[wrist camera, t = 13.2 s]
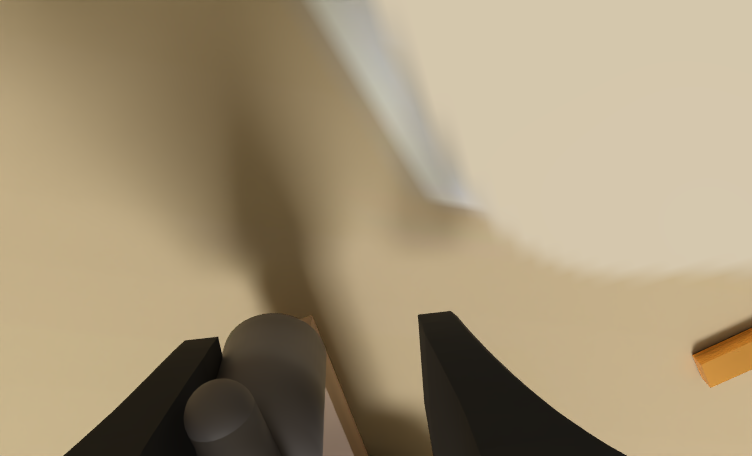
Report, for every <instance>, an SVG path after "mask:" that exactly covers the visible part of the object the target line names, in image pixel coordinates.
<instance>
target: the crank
mask: <svg viewBox="0 0 752 456" xmlns="http://www.w3.org/2000/svg"><path fill="white" fill-rule="evenodd" d="M222 357H223V358H222V361H221V365H220V368H219V372H218V375H217V378H216V379H215V380H211V381H208V382H206V383H204V384H203V385H201V386H200V387H198V388H197V389H196V390H195V391H194V392H193V394H192V395H191V397H190V398H189V400H188V402H187V404H186V407H185V411H184V426H185V430H186V432H187V435H188V437H189V438H190V440H191V442H192V444H193V446H194V448H195V451H196V454H197V456H368V453H367V451H366V448H365V446H364V444H363V441H362V439H361V436H360V434H359V431H358V429H357V426H356V424H355V421H354V419H353V416H352V414H351V411H350V409H349V406H348V404H347V401H346V399H345V396H344V394H343V391H342V389H341V386H340V384H339V381H338V379H337V376H336V374H335V371H334V369H333V366H332V364H331V361H330V359H329V356H328V354H327V351H326V349H325V346H324V343H323V341H322V339H321V336H320V334H319V331H318V329H317V326H316V324H315V321H314V319H313V316H312V315H311V316H307V317H304V318H300V319H298V318H296V317H293V316H290V315H285V314H278V313H270V314H262V315H258V316H254V317H252V318H249V319H247V320H245V321H244V322H242V323H241V324H239V325H238V326H237V327H236V328H235V329H234V330H233V331H232V332H231V333H230V335H229V337H228V338H227V341H226V343H225V346H224V349H223V353H222Z"/></svg>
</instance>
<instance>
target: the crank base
mask: <svg viewBox="0 0 752 456" xmlns="http://www.w3.org/2000/svg"><path fill="white" fill-rule="evenodd" d="M692 356H693V358H694V360H695V363H696V365H697V368H698V370H699V372H700V375H701V377H702V379H703V380H704V381H705V382H706V383H707V384H708V385H709V387H710V388H711V387H714V386H716V385H718V384H720V383H722V382H725V381H727V380H729V379H731V378H734V377H736V376H738V375H740V374H743V373H745V372H747V371H749V370H752V328H750V329H748V330H746V331H744V332H742V333H739V334H737V335H735V336H733V337H731V338H729V339H726V340H724V341H722V342H720V343H718V344H715V345H713V346H711V347H709V348H707V349H705V350H702V351H700V352H698V353H696V354H694V355H692Z"/></svg>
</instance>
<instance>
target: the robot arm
mask: <svg viewBox="0 0 752 456" xmlns="http://www.w3.org/2000/svg"><path fill="white" fill-rule="evenodd" d="M418 322H419V336H420V350H421V363H422V377H423V391H424V404H425V410H426V416H427V422H428V428H429V434H430V439H431V445H432V451H433V455H434V456H626V455H624V454H623V453H621V452H619V451H617V450H616V449H614V448H612V447H610V446H609V445H607V444H605V443H604V442H602V441H601V440H599V439H597V438H596V437H594V436H593V435H591V434H589V433H588V432H586V431H585V430H584V429H582V428H581V427H579V426H578V425H576V424H575V423H573V422H572V421H570V420H569V419H568V418H566V417H565V416H563V415H562V414H560V413H559V412H558V411H556V410H555V409H554V408H552V407H551V406H550V405H549V404H547V403H546V402H545V401H544V400H542V399H541V398H540V397H539V396H538V395H536V394H535V393H534V392H533V391H531V390H530V389H529V388H528V387H527V386H526V385H524V384H523V383H522V382H521V381H520V380H519V379H518V378H516V377H515V376H514V375H513V374H512V373H511V372H510V371H509V370H508V369H507V368H506V367H505V366H504V365H503V364H502V363H500V362H499V361H498V360H497V359H496V358H495V357H494V356H493V355H492V354H491V353H490V352H489V351H488V350H487V349H486V348H485V347H484V346H483V345H482V344H481V343H480V341H479V340H478V339H477V338H476V337H475V336H474V335H473V334H472V333H471V332H470V331H469V330H468V328H467V327H466V326H465V325H464V324H463V323H462V322H461V320H460V319H459V318H458V317H457V316H456V315H455V314H454V313H453V312H451V311H447V312H438V313H429V314H420V315H418ZM222 358H223V357H222V352H221V348H220V344H219V339H218V337H213V338H204V339H195V340H186V341H184V342H183V343H182V344H181V345H179V346H178V347H177V348H176V349H175V350H174V351H173V352H172V353H171V354H170V355H169V356H168V357H167V358H166V359H165V360H164V361H163V362H162V363H161V364H160V365H159V366H158V367H157V368H156V369H155V370H154V371H153V372H152V373H151V374H150V375H149V376H148V377H147V378H146V379H145V380H144V381H143V382H142V383H141V384H140V385H139V386H138V387H137V388H136V389H135V390H134V391H133V392H132V393H131V394H130V395H129V396H128V397H127V398H126V399H125V400H124V401H123V402H122V403H121V404H120V405H119V406H118V407H117V408H116V409H115V410H114V411H113V412H112V413H111V414H110V415H108V416H107V417H106V418H105V419H104V420H103V421H102V422H101V423H100V424H98V425H97V426H96V427H95V428H94V429H93V430H92V431H91V432H90V433H88V434H87V435H86V436H85V437H84V438H83V439H82V440H81V441H80V442H79V443H77V444H76V445H75V446H74V447H73V448H72V449H71V450H70V451H68V452H67V453H66V454H65V455H64V456H197V454H196V451H195V448H194V446H193V444H192V442H191V440H190V438H189V437H188V435H187V432H186V430H185V426H184V411H185V407H186V404H187V402H188V400H189V398H190V397H191V395H192V394H193V392H194V391H195V390H196V389H197V388H198V387H200V386H201V385H203V384H204V383H206V382H208V381H211V380H215V379H216V378H217V375H218V372H219V368H220V365H221V361H222Z"/></svg>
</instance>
